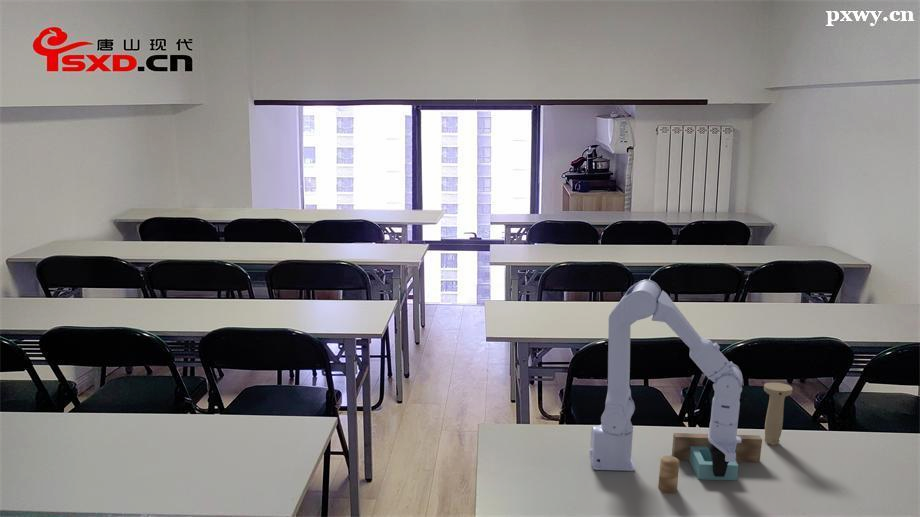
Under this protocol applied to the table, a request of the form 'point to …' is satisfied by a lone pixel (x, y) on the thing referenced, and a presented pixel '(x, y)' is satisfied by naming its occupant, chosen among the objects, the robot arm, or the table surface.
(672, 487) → the dowel
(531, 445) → the table surface
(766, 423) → the handle
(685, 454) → the wall
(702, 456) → the socket block
